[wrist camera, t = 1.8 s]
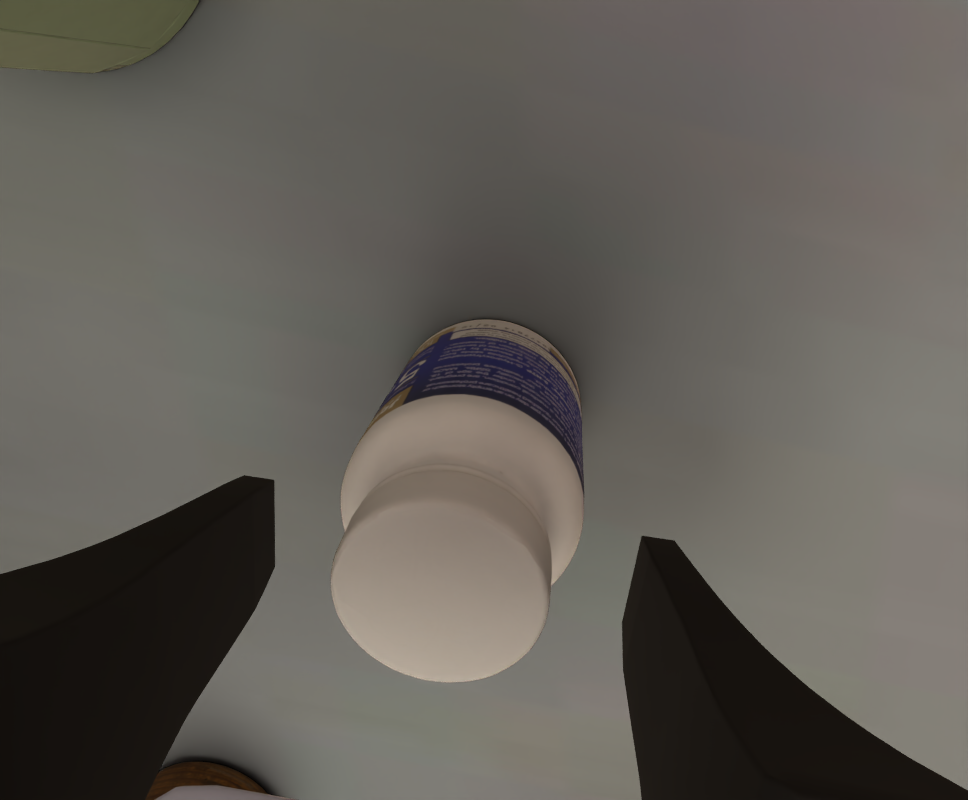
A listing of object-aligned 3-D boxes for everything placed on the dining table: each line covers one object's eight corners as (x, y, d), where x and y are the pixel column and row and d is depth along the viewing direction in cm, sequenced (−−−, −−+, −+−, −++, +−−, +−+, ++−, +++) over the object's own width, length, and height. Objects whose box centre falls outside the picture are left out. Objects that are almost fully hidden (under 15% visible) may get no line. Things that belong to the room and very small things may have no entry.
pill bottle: (410, 300, 20) (301, 435, 12) (597, 333, 20) (618, 495, 12) (391, 467, 22) (287, 681, 14) (560, 499, 22) (556, 735, 14)
